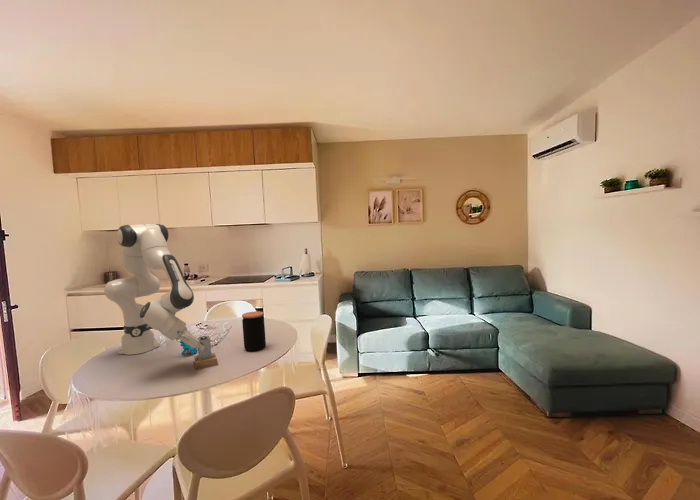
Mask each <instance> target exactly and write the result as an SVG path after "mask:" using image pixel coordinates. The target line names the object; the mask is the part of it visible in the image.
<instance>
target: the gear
mask: <svg viewBox="0 0 700 500" xmlns="http://www.w3.org/2000/svg"><path fill="white" fill-rule="evenodd" d="M179 344H180V345H179V346H180V347H182V349H183V350H182V352H181V355H184V354H185V353H186V352H187V353H190V354H192V355H193V354H195V355H196V354H197V353H198V348H197V347H196V348H195V349H194V348H192V347H190V346H189V345H187V344H186V343H184V342H183V341H182V340H180V341H179Z"/></svg>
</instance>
